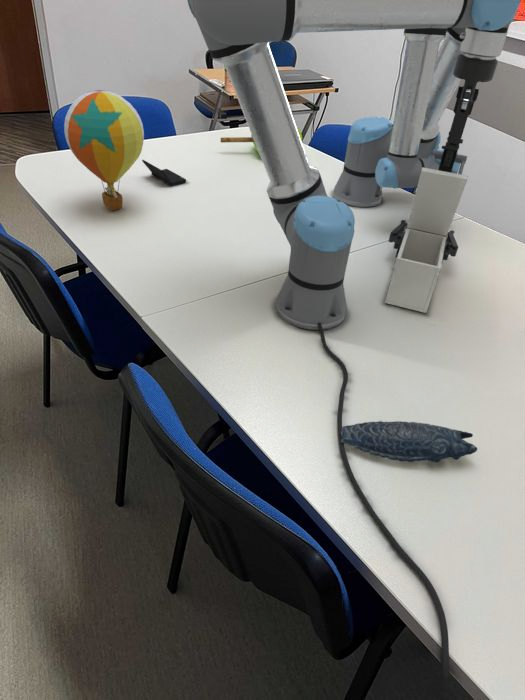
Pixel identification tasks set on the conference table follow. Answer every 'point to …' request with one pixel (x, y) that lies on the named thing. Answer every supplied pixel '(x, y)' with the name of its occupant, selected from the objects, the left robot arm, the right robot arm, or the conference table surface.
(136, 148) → the toy
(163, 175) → the black angular block
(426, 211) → the lid
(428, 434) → the fish model
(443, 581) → the conference table surface
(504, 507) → the conference table surface
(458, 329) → the conference table surface
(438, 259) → the chest
